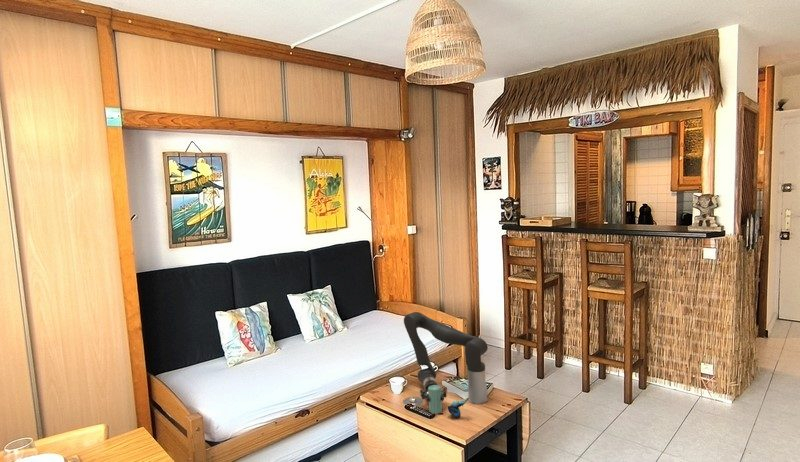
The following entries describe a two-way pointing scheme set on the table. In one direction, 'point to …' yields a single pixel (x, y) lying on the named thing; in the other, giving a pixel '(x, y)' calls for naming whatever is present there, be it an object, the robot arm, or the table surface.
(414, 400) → the tealight
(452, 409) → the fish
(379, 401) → the table surface
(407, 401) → the slate plate
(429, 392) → the green cylinder
